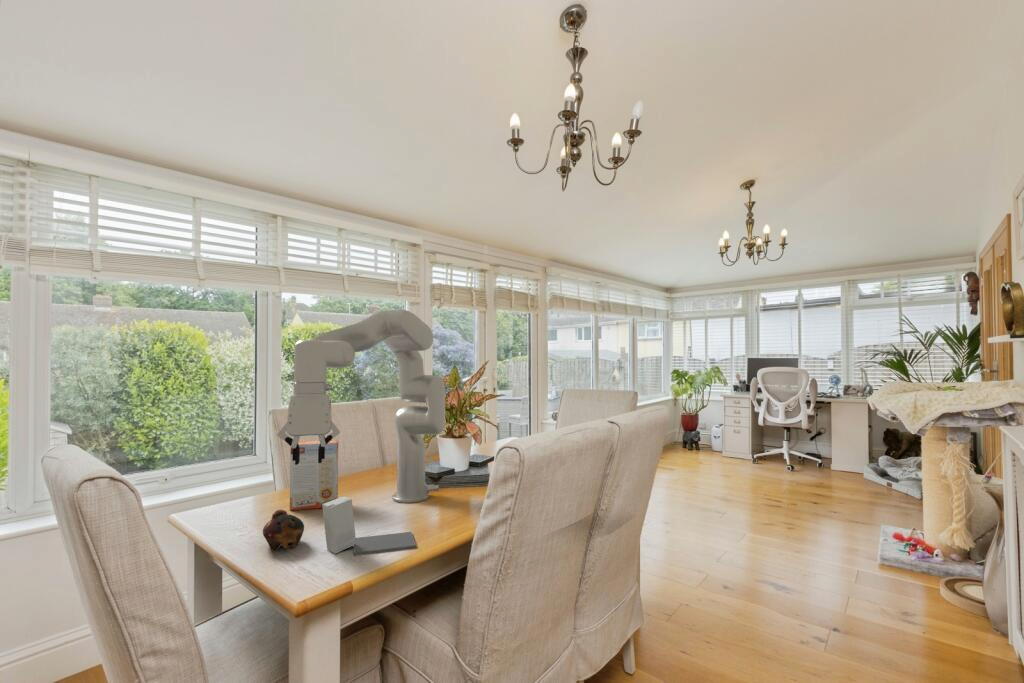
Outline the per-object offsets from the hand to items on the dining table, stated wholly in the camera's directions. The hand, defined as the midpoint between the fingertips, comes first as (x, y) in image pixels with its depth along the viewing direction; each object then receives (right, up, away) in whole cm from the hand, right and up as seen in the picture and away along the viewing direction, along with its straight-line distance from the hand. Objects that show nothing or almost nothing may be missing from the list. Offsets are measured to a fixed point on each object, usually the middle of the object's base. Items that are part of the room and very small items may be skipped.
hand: (308, 462), depth 118 cm
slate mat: (+17, -23, +5) cm, 29 cm away
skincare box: (+8, -22, +2) cm, 24 cm away
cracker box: (-14, -24, +36) cm, 45 cm away
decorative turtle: (-8, -23, +4) cm, 24 cm away
